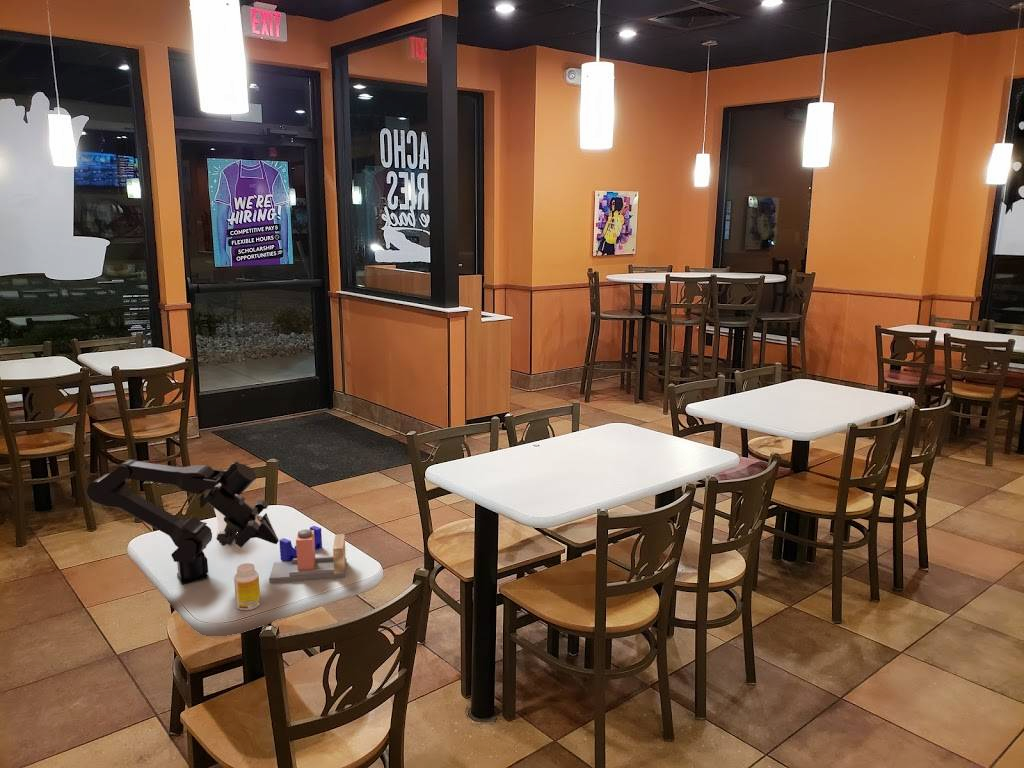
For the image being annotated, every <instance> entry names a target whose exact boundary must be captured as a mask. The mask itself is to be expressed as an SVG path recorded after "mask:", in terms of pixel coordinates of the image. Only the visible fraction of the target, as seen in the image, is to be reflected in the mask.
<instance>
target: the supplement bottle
mask: <svg viewBox="0 0 1024 768" xmlns="http://www.w3.org/2000/svg"><path fill="white" fill-rule="evenodd" d="M233 578H234V579H233V581H234V593H235V603H236V604H235V605H236V608H237V609H238V610H241V611H251V610H255V609H256V608H258V607H259V606H260V604H261V592H260V591H261V590H260V578H259V572H258V571H256V569H255V565H254V564H253V563H250V562H246V563H241V564H240V565H237V567H236V574H234V577H233Z"/></svg>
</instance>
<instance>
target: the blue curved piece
mask: <svg viewBox="0 0 1024 768" xmlns="http://www.w3.org/2000/svg"><path fill="white" fill-rule="evenodd" d="M309 530H314V539H315V551H316V550H319V549H321V548H323V538H322V528H321V527H319V526H316V525H312V526H310V527H309ZM278 540H279V541H278V543H279V554H280V555H279V556H280V560H281V561H282V562H291V561H293V559H294V558H297V550H296V545H294V547H293V545H292V540H290V539H287V538H284V537H283V538H281V539H278Z"/></svg>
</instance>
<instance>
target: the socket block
mask: <svg viewBox="0 0 1024 768" xmlns="http://www.w3.org/2000/svg"><path fill="white" fill-rule="evenodd" d="M345 537H346V536H345V534H344V533H342V534H341V533H340V534H339V533H338V534H335V535H334V540H333V545H332V556H333V561H334V574H339V573H344V568H345V560H346V559H347V557H346V556H347V554H346V538H345Z"/></svg>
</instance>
